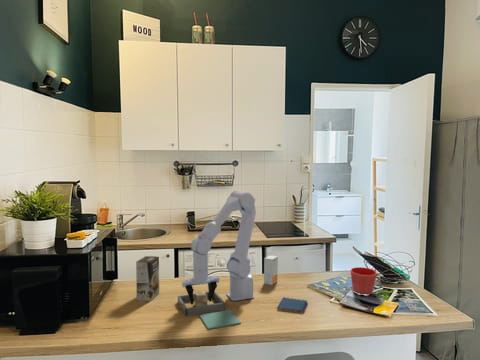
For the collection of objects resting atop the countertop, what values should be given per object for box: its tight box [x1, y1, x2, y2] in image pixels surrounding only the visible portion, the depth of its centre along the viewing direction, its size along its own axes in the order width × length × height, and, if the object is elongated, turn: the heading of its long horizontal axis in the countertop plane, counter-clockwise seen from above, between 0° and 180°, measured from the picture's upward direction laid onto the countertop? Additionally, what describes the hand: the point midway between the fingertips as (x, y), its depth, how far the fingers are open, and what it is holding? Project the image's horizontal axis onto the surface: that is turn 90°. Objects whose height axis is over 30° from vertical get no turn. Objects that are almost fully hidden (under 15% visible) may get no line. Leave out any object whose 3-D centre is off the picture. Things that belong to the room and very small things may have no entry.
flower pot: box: [350, 266, 377, 295], centre depth 158 cm, size 11×11×10 cm
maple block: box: [194, 290, 208, 307], centre depth 145 cm, size 4×4×5 cm
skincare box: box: [263, 255, 279, 286], centre depth 171 cm, size 6×4×12 cm
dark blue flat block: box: [276, 296, 309, 314], centre depth 144 cm, size 10×11×2 cm
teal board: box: [199, 309, 242, 330], centre depth 133 cm, size 12×11×1 cm
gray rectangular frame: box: [177, 290, 226, 317], centre depth 145 cm, size 16×14×2 cm
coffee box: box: [135, 255, 160, 302], centre depth 154 cm, size 9×6×16 cm
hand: (200, 302), depth 145 cm, fingers open, 7 cm apart
